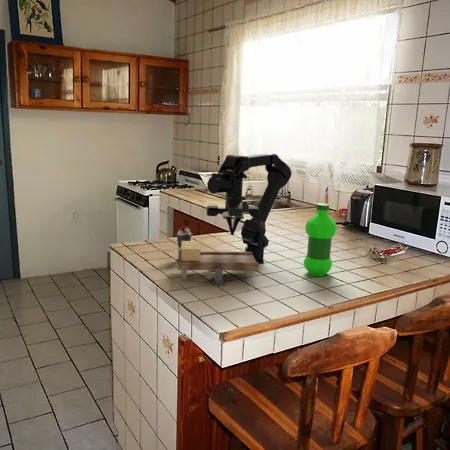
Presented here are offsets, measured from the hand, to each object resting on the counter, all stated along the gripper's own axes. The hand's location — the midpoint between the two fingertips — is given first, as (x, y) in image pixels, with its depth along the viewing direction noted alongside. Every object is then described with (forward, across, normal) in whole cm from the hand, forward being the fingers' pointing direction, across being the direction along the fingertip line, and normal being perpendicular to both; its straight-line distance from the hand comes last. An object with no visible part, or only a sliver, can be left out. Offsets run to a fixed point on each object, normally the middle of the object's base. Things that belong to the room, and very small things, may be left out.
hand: (232, 234), depth 162 cm
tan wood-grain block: (+6, -15, -10) cm, 19 cm away
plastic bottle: (+12, +30, -7) cm, 33 cm away
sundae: (+12, -17, +8) cm, 22 cm away
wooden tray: (+8, -6, -10) cm, 14 cm away
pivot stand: (+12, -11, -10) cm, 19 cm away
